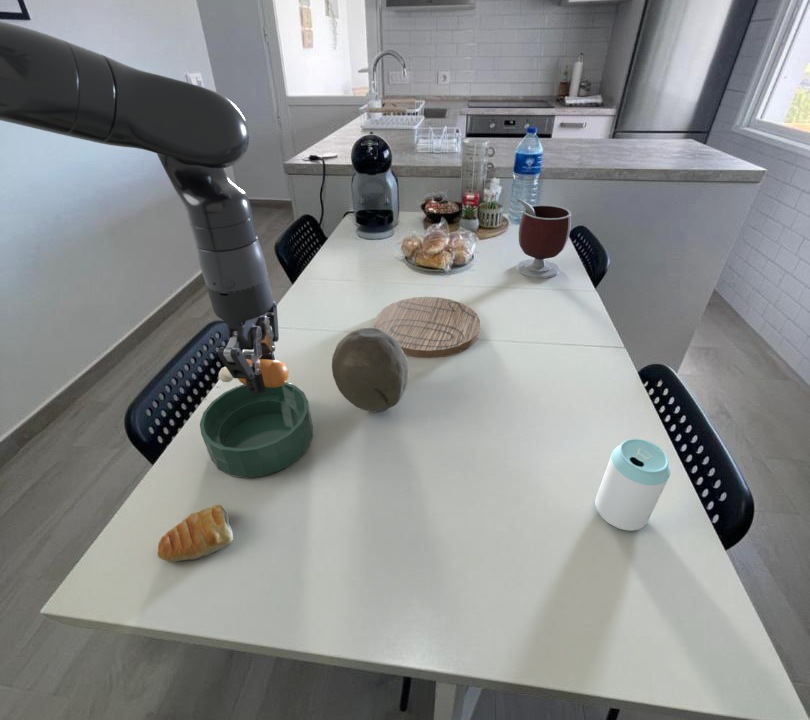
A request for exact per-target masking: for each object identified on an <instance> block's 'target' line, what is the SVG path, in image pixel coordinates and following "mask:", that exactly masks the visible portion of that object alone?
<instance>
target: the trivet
mask: <svg viewBox="0 0 810 720" xmlns="http://www.w3.org/2000/svg"><path fill="white" fill-rule="evenodd" d="M480 319H481V318H480V317H479V316H478V314H477V312H476V311H475V310H473V309H472V308H471V307H470V306H467V305H466V304H464V303H462V302H460V301H457V300H453V299H449V298H444V297H440V296H439V297H438V296H419V297H410V298H405V299H401V300H398V301H395V302H393V303H390V304H389V305H387V306H385V307H384V308H383V309H381V310H380V312H379V313H378V314H377V315H376V318H375V320H374V328H378V329H381V330H384V331H385V332H387V333H389V334H390V335H391V336H392V337H394V338H395V339H396V341H397V342H398V343H399V345H400V347H401V348H402V350H403V352H404V354H405V356H408V357H413V358H422V359H423V358H424V359H433V358H434V359H435V358H444V357H448V356H449V357H450V356H452V355H456V354H459V353H461V352H463V351H465V350H467V349H469V348H471V347H472V346H473V345H474V344H475V343H476V342H477V341H478V339H479V337H480V334H481V320H480Z"/></svg>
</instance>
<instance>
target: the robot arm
mask: <svg viewBox="0 0 810 720" xmlns="http://www.w3.org/2000/svg"><path fill="white" fill-rule="evenodd" d="M0 121H2V122H6V123H11V124H13V125H19V126H24V127H27V128H31V129H36V130H40V131H44V132H49V133H52V134H57V135H61V136H66V137H71V138H75V139H80V140H84V141H87V142H88V141H89V142H92V143H97V144H102V145H106V146H107V145H108V146H113V147H123V148H130V149H131V148H132V149H138V150H144V151H148V152H151V153H154V154H156V155H157V157H158V160H159V161H160V163H161V166H162V167H163V169H164V171H165V174H166V175H167V177H168V179H169V182H170V183H171V185H172V187H173V189H174V191H175V192H176V194H177V196H178V197H179V199H180V201H181V203H182V205H183V206H184V210H185V211H186V215H187V219H188V223H189V226H190V230H191V233H192V236H193V240H194V244H195V247H196V250H197V256H198V262H199V267H200V272H201V273H202V277H203V280H204V283H205V284H204V285H205V286H206V291H207V293H208V297H209V300H210V303H211V306H212V309H213V313H214V315H215V316H216V317H218V318H219V319H221V320H222V321H223V322H224V323H225V324H226V335H227V338H228V342H227V344H226V346H225V347H219V348H218V350H217V355H218V357H219V359H220V361H221V362H222V364H223V365H224V367H226V368H227V369H228V371H229V372H230V374H231V375H232V377H233V378H234V379H235V378H242V379H245V380H246V383H247V387H248V390H249V392H250V393H252V394H264V392H265V390H266V389H265V385H264V382H263V377H262V373H261V371H260V364H259V359H267V360H276V357H275V353H274V352H275V350H276V345H275V343H278V341H279V338H280V336H279V320H278V318H279V317H278V304H277V302H276V301H274V296H273V292H272V286H271V282H270V278H269V274H268V269H267V263H266V258H265V255H264V252H263V249H262V246H261V244H260V241H259V237H258V233H257V228H256V224H255V223H256V222H255V218H254V214H253V210H252V206H251V203H250V199H249V197H248V195H247V194H246V192H245V191H244V190H243V189H242V188H240V187H238V186H237V185H236V184H235V183H234V182H232V180H230V178H229V177H228V174H227V171H226V168H229V167H232V166H234V165H235V164H237V163H239V162H240V161H241V160H242V158H243V157H244V156H245V154H246V153H247V152H248V151H247V150H248V148H249V145H250V131H249V127H248V124H247V123H248V122H247V121H246V119H245V117H244V115H243V114H242V112H241V111H240V109H239V108H238V107H237V105H236V104H235V103H233V102H232V101H231V100H230V99H229V98H227V97H226V96H224V95H223V94H221V93H219V92H216V91H214V90H211V89H209V88H207V87H203V86H200V85H197V84H193V83H190V82H187V81H184V80H180V79H175V78H172V77H167V76H165V75H160V74H157V73H154V72H153V73H152V72H148V71H145V70H141V69H137V68H135V67H132V66H129V65H127V64H124V63H122V62H120V61H117V60H115V59H114V58H111V57H108V56H106V55H104V54H100V53H98V52H95V51H93V50H92V49H91V50H90V49H89V48H88V49H87V48H85V47H83V46H80V45H77V44H74V43H72V42H69V41H66V40H63V39H61V38H58V37H55V36H52V35H49V34H47V33H44V32H40V31H38V30H35V29H31V28H28V27H24V26H21V25H17V24H13V23H8V22H5V21H0ZM246 359H249V360H251V361H252V366H250V365H249V363H248V362H247V360H246Z"/></svg>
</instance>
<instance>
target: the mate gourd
mask: <svg viewBox="0 0 810 720" xmlns="http://www.w3.org/2000/svg"><path fill="white" fill-rule="evenodd" d="M516 202H519V203H520V204H521V205H522V206H523V207H524V209H523V211H522V214H521V218H520V222H519V225H518V226H519V227H518V245H519V247H520V249H521V250H522V252H523V253H524V254H525V255H526V256H528V257H531V258H530V259H529V258H528V259H524V260H521V261H519V262H518V263H517V264H516V270H517V272H518V273H520V274H522V275H523V276H526V277H530V278H535V279H548V278H552V277H555V276H557V275H558V274H559V273H560V267H559V265H557V264H556V263H554V262H552V261H550V260H547V259H551V258H555V257H557V256H558V255H559V254H561V252H562V251H564V249H565V247H566V246H567V243H568V241H569V238H570V234H571V227H572V211H571V210H570V209H568V208H566V207H563V206H559V205H553V204H534V205H531V204H530V203H528V202H527V201H525V200H523V199H521V198H519V197H518V198H517V199H516Z"/></svg>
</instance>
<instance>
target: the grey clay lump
mask: <svg viewBox="0 0 810 720" xmlns="http://www.w3.org/2000/svg"><path fill="white" fill-rule="evenodd" d="M408 363H409V362H408V358H407V355H405V354H404V352H403V350H402V348H401V347H400V345H399V343H398V342H397V341H396V339H395V338H394V337H392V336H391V335H390V334H389V333H387V332H385V331H384V330H381V329H378V328H375V327H361V328H357V329H354V330H353V331H350V332H348V333H347V334H346V335H345V336H344V337H343V338H342V339H340V341H339V342H338V343H337V345H336V346H335V348H334V352H333V354H332V358H331V371H332V377H333V380H334V382H335V383H334V384H335V386H336V388H337V389H338V391H339V392H340V394H341V395H342V397H344V398H345V399H346V400H347V401H348V402H349V404H351V405H353V406H355V408H358V409H360V410H363V411H367V412H373V413H378V412H379V413H380V412H383V411H387V410H389V409H390V408H393V407H394V406H396V405H397V404H398V403H399V402H400V401H401V399H402V398H403V396H404V393H405V391H406V389H407V385H408V381H409V364H408Z"/></svg>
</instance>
